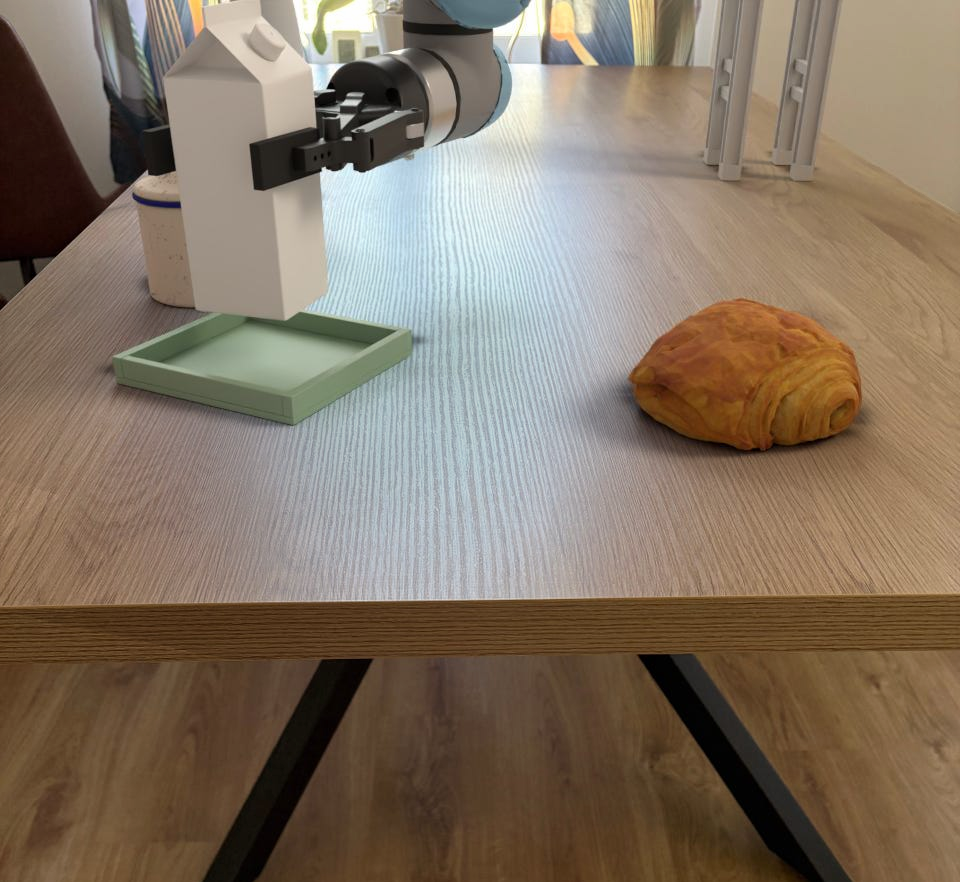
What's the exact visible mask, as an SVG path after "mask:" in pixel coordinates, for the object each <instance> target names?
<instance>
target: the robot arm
mask: <svg viewBox="0 0 960 882" xmlns="http://www.w3.org/2000/svg"><path fill="white" fill-rule="evenodd" d="M531 1H532V0H402V18H403V19H402V20H401V21H402V23H401V24H402V31H403V32H402V34H403V35H402V43H403V45H402V47H403V49H399V50H393V51H388V52H385V53H380V54H377V55H373V56H369V57H364V58H358V59H355V60H350V61H348V62H346V63H345V64H343V65H341V66H340V67H339V68H338V69H337V70H336V71H335V72H334V73H333V75H332V76H331V78H330V79H329V82H328V83H327V86H326V88H325V89H319V90H318V89H316V90H314V100H315V114H316V127H317V128H313V127H308V128H305V129H301V130H297V131H294V132H290V133H287V134H283V135H279V136H276V137H272V138H269V139H265V140H261V141H258V142H254V143H250V144H249V147H250V157H251V167H252V177H253V186H254V190H259V191H265V190H268V189H271V188H274V187H277V186H280V185H283V184H286V183H289V182H292V181H295V180H299V179H302V178H305V177H308V176H311V175H314V174H317V173H320V174H321V173H322V172H323V168H325V170H327V171H330V172H333V173H335V172H339V171H342V170H343V169H344V168H346V166H347V165H348V164H352V170H353V172H354V171H355V172H358V173H360V174H365V173H367V172H369V171H372V170H374V169H376V168H378V167H381V166H384V165H387V164H390V163H393V162H395V161H398V160H401V159H403V160H404V161H407V162H409V161H413V160H414V159H415V154H417V153H420V152H422V151H425V150H428V149H432V148H434V147H438V146H439V145H443V144H445V143H450V142H452V141H453V142H454V141H456V140H460V139H467V138H470V137H472V136H474V135H477V134H478V133H479V132H481V131H482V130H485V129H486V128H488V127H490V126H491V125H492V124H494V123H495V122H497V121H498V120H499V119H500V117H501V116H502V115H503V114H504V113H505V111H506V109H507V107H508V105H509V103H510V99H511V96H512V92H513V91H512V90H513V77H512V76H513V75H512V72H511V68H510V66H509V63H508V61H507V59H506V56H505V54H504V52H503V50H502V49H501V48H500V47H499V46H498V45H497V44H496V43H494V29H496V28H500V27H503V26H505V25H507V24H509V23H512V22H513V21H514V20H515V19H517V18H518V17H519V16H520V15H522V13H524V11H525V10H526V9H527V8H528V7H529V5H530V4H531ZM141 135H142V136H141V137H142V142H143V149H144V156H145V162H146V163H145V164H146V168H147V176H160V175H164V174H167V173H171V172H174V171H176V166H175V159H174V152H173V145H172V138H171V131H170V123H168V124H165V125H159V126H156V127H153V128H148V129H144V130H141Z"/></svg>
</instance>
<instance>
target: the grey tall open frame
mask: <svg viewBox="0 0 960 882" xmlns="http://www.w3.org/2000/svg"><path fill="white" fill-rule="evenodd" d="M764 4H765V0H721V5H720V12H719V19H718V20H719V21H718V29H717V37H716V38H717V39H716V47H715V55H714V63H713V73H712V80H711V81H712V82H711V90H710V91H711V92H710V98H709V108H708V115H707V116H708V117H707V125H706V134H705V143H704V144H705V145H704V150H703V151H704V152H703V158H702V162H703V163H704V164H705V165H706V166H718V172H717V178H718V179H719V180H720V181H728V182H729V181H730V182H731V181H732V182H733V181H735V182H736V181H741V176H742V168H743V162H744V161H743V160H744V154H745V145H746V137H747V130H748V124H749V116H750V107H751V100H752V95H753V94H752V93H753V85H754V78H755V70H756V63H757V55H758V48H759V41H760V35H761V34H760V32H761V26H762V20H763V12H764ZM842 6H843V0H794V3H793V9H792V10H793V11H792V17H791V22H790V30H789V35H788V36H789V37H788V44H787V51H786V57H785V64H784V71H783V78H782V84H781V91H780V98H779V104H778V110H777V118H776V126H775V130H774V131H775V132H774V139H773V145H772V146H773V147H772V153H771V157H770V158H771V159H770V162H771V163H772V164H773V165H774V166H790V170H789V178H790V179H791V180H792V181H793V182H813V178H814V172H815V166H816V160H817V154H818V149H819V142H820V136H821V132H822V125H823V119H824V112H825V106H826V101H827V95H828V89H829V83H830V76H831V71H832V65H833V61H834V60H833V59H834V54H835V47H836V41H837V36H838V29H839V24H840V17H841V11H842Z"/></svg>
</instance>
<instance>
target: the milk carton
mask: <svg viewBox="0 0 960 882" xmlns="http://www.w3.org/2000/svg"><path fill="white" fill-rule="evenodd" d="M201 14H202V24H203V27H202V28H201V30H200V31H199V32H198V34H196V36H195V38H193V40H192V41H191V43H189V45H188V46H187V47H186V48H185V49H184V51H183V52H182V53H181V54H180V56H179V57H178V58H177V60H176V61H175V62H174V63H173V64H172V65H171V67H170V68H169V69H168V70H167V72H166V73H165V74H164V75H163V77H162V80H163V87H164V94H165V102H166V109H167V117H168V124H170V131H171V138H172V145H173V152H174V159H175V166H176V173H177V180H178V187H179V194H180V201H181V209H182V216H183V223H184V230H185V237H186V244H187V251H188V258H189V265H190V272H191V280H192V287H193V294H194V301H195V307H194V308H195V310H196V311H200V312H207V313H214V312H215V313H223V314H231V315H240V316H248V317H257V318H265V319H274V320H283V321H286V320H288V319H289V318H291V317H292V316H294V315H295V314H297V313H298V312H300V311H301V310H303V309H306V308H308V307H309V306H310V305H312V304H313V303H315V302H317V300H319V299H321V298H322V297H324V296H325V295H326V294H328V293H329V279H328V267H327V265H328V264H327V253H326V252H327V251H326V238H325V226H324V225H325V224H324V212H323V196H322V184H321V172H320V173H317V174H314V175H311V176H308V177H305V178H302V179H299V180H295V181H292V182H289V183H286V184H283V185H280V186H277V187H274V188H271V189H268V190H265V191H259V190H254V186H253V177H252V167H251V157H250V147H249V144H250V143H254V142H258V141H261V140H265V139H269V138H272V137H276V136H279V135H283V134H287V133H290V132H294V131H297V130H301V129H305V128H308V127H313V128H317V127H316V114H315V100H314V91H315V90H314V89H315V88H314V78H313V77H314V76H313V69H312V67H311V65H310V64H309V63H308V62H307V61H306V60H305V59H304V57H303V58H302V57H301V56H300V55H299V54H298V53H297V52H296V51H295V50H294V49H293V48H292V47H291V46H290V45H289V44H288V43H287V42H286V41H285V40H284V38H283V37H282V35H281V34H280V33H279V32H278V31H277V30H276V29H274V28H273V27H272V26H271V25H270V24H269V23H268V22H267V21H266V20H265V19H264V18H263V17H262V16H261V5H260V0H238V1H233V2H230V1H227V2H220V3H215V4H210V5H204V6H203V5H202V6H201Z"/></svg>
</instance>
